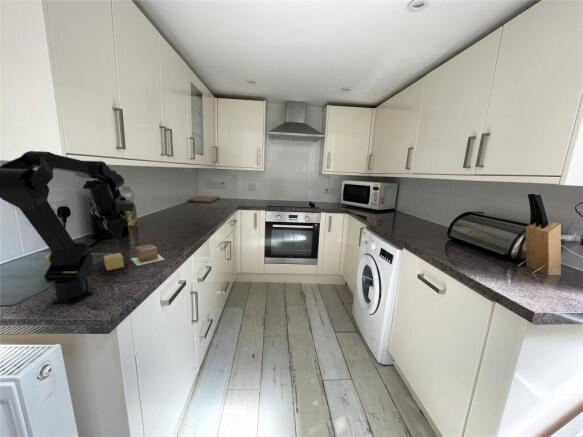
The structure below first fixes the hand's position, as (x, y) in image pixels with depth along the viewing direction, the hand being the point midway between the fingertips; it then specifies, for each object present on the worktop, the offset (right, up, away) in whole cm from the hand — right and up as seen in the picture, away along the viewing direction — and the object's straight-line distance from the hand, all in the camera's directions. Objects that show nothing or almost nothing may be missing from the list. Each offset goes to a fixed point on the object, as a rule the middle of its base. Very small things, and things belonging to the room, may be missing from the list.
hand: (114, 235), depth 88 cm
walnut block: (+6, -11, +10) cm, 16 cm away
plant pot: (-11, -14, -7) cm, 19 cm away
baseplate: (+6, -11, +10) cm, 16 cm away
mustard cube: (-1, -13, +1) cm, 13 cm away
